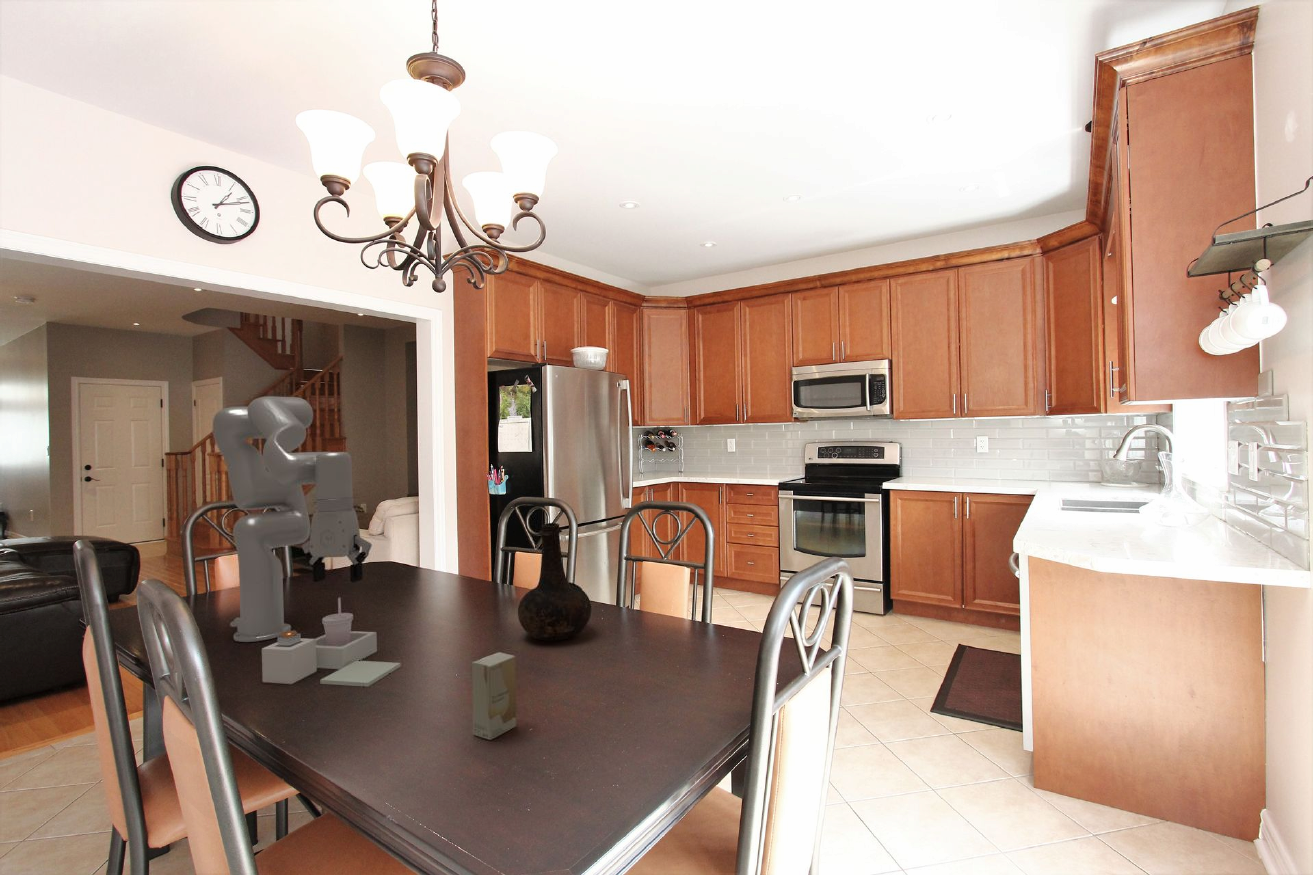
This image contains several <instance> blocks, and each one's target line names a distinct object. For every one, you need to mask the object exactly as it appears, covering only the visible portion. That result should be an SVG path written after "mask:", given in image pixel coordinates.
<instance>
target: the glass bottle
mask: <svg viewBox="0 0 1313 875" xmlns="http://www.w3.org/2000/svg"><path fill="white" fill-rule="evenodd" d="M540 527H541V530H539V531H538V535H540V536H541V560H540V561H541V562H540V571H539V572H540V573H539V579H538V583H537V586H535V587H534V588H532V589H531V590H528V592H526V593H525V594H524V596H523V597H522V598H521V599H520V601H519V603H518V607H517V617H518V621H519V624H520V626H521V627H522V628H523V630H524V631H525V632H526V633H527V634H528V635H529V636H531V637H532V638H534V639H536V640H539V641H544V642H559V641H565V640H568V639H570V638H573V637H575V636H576V635H578V634H579V633H581V632H582V631H583V630H584V629H585V627H586V626H587V625H588V623H589V621H590V619H591V615H592V605H591V604H592V603H591V600H590V598H589V595H588V594H587V593H586V592H585V591H584V590H583V588H582V587H581V586H579V585H578V584H577V583H573V582H569V581H568V579H567V577H566V573H565V568H564V564H563V563H564V562H563V558H562V557H563V556H562V549H561V548H562V547H561V540H560V539H561V538H560V533H562V532H563V530H562V529H560V524H559V523H556V522H548V523H544V524H542V525H541V526H540Z"/></svg>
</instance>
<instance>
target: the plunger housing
mask: <svg viewBox="0 0 1313 875" xmlns="http://www.w3.org/2000/svg"><path fill="white" fill-rule="evenodd" d="M261 666H262V667H261V668H262V670H261V674H262V683H267V684H268V683H270V684H271V683H272V684H283V685H284V684H285V685H287V684H288V685H293V684H294V683H297V682H299V681H300V680H302V679H305V678H306V677H308V676H310V675H312V674H314V673H317V669H318V668H317V666H316V638H305V637H304V638H303V637H302V638H301V643H299V644H297V645H294V646H292V647H278V641H277V642H275V643H274V642H273V643H272V644H270V645H268V646H267V645H266V646H264V647H263V648H261Z"/></svg>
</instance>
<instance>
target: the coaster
mask: <svg viewBox="0 0 1313 875" xmlns="http://www.w3.org/2000/svg"><path fill="white" fill-rule="evenodd" d="M401 664H402V663H401V662H388V661H387V662H386V661H370V660H360V661H355V662H353V663H351V664H349V665H347V666H345V667H344V668H342V669H337V670H336V671H333V673H331V674H329V675H327V676H325V677H323V678H321V679H320V681H319V682H320V685H334V686H335V685H336V686H348V687H349V686H352V687H363V686H364V687H366V688H369V687H370V686H371V685H373V684H374V683H376V682H378V681H379V680H381V679H383V678H384V677H387V676H388V675H389V673H390V674H391V673H393V672H395V671H396V670H398V669H399V668H401Z"/></svg>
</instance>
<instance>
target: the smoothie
mask: <svg viewBox="0 0 1313 875" xmlns="http://www.w3.org/2000/svg"><path fill="white" fill-rule="evenodd" d="M341 599H342V598H341V597H338V598H337V605H338V606H337V609H338V610H337V612H338V613H334V614H329V615H326V616H324V617H323V618H322V620H321V621H322V622H321V624H322V625H323V627H324V635H325V634H326V640H327V646H338V647H342V646H344V645H346V644H348V643H349V642H350V632H351V631H352V621H353V620H354V614H353V613H350V612H342V600H341Z"/></svg>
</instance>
